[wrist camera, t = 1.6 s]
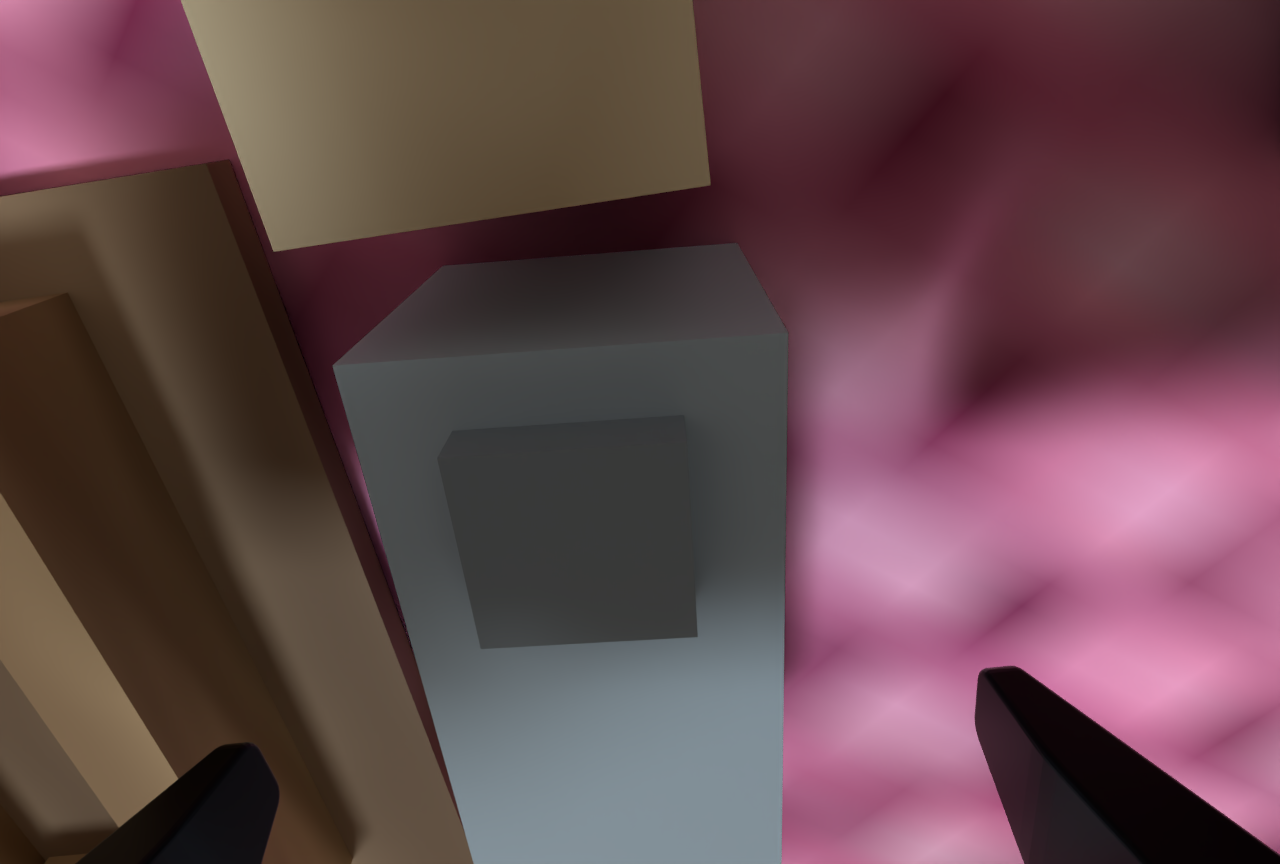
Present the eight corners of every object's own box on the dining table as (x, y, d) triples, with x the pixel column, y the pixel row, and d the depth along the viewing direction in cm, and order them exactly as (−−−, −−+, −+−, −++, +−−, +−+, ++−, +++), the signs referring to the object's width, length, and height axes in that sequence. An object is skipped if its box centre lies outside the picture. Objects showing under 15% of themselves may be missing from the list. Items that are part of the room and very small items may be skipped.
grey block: (736, 240, 11) (800, 354, 6) (745, 713, 15) (787, 982, 11) (446, 263, 11) (307, 389, 7) (536, 724, 16) (490, 992, 11)
